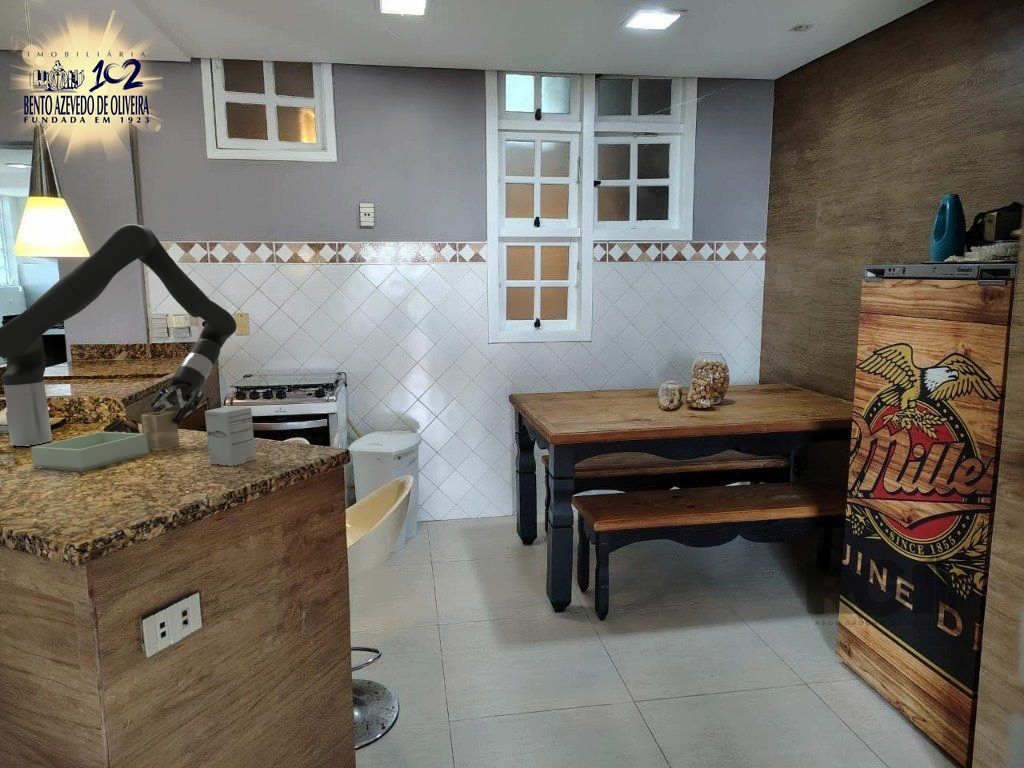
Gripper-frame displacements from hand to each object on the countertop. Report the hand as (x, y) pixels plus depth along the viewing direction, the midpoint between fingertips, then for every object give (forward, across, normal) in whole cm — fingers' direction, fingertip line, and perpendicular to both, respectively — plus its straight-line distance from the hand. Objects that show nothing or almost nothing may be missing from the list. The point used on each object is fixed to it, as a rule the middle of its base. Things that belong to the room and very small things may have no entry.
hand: (162, 422), depth 179 cm
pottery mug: (+4, -16, +6) cm, 17 cm away
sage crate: (+16, -6, -7) cm, 18 cm away
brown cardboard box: (+5, 0, +4) cm, 7 cm away
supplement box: (+12, +32, -2) cm, 34 cm away
